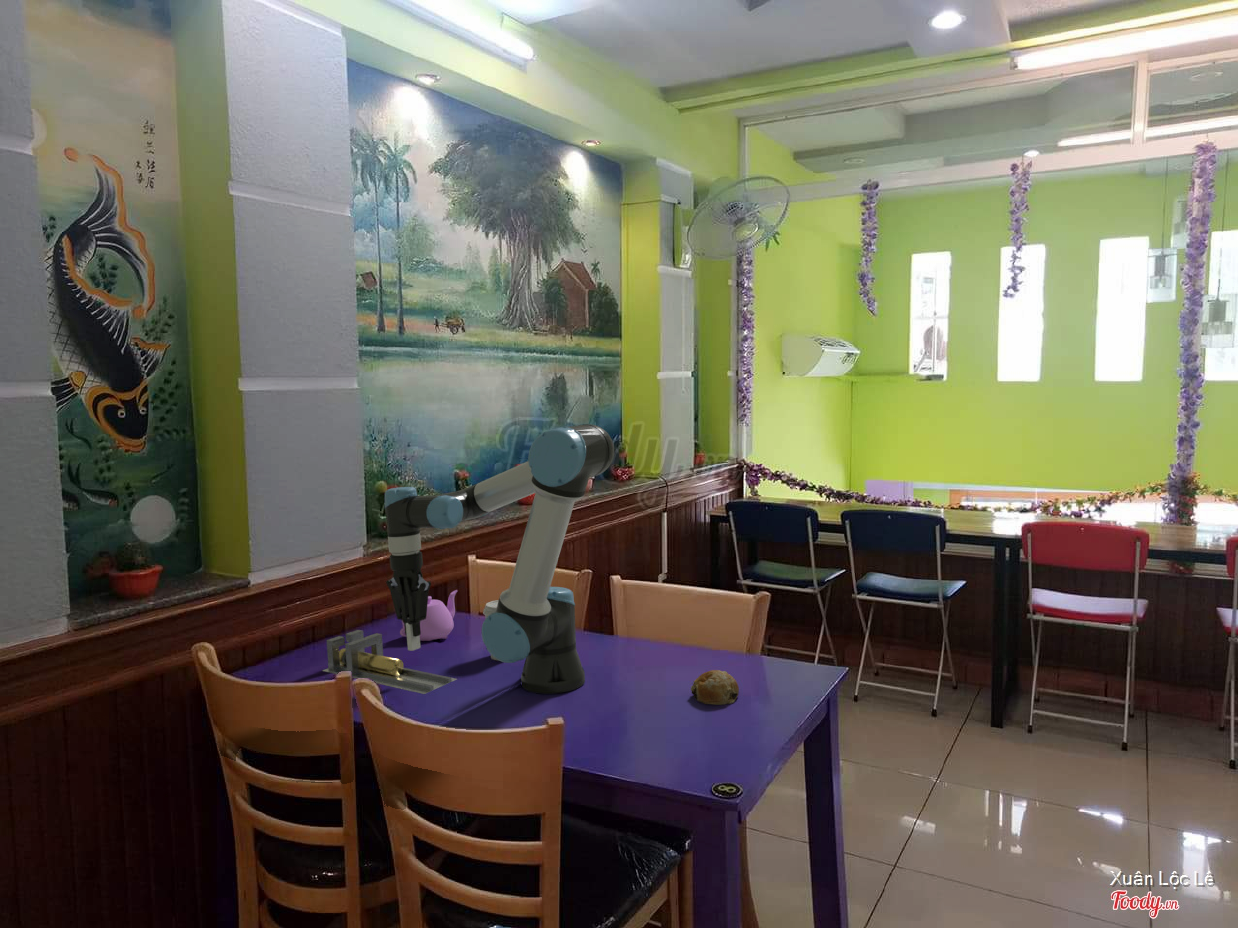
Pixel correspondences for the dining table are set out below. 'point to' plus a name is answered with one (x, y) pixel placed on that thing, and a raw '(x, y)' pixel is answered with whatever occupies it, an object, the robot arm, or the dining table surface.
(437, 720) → the dining table surface
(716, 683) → the bread roll
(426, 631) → the teapot
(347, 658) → the collar base
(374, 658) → the tube
